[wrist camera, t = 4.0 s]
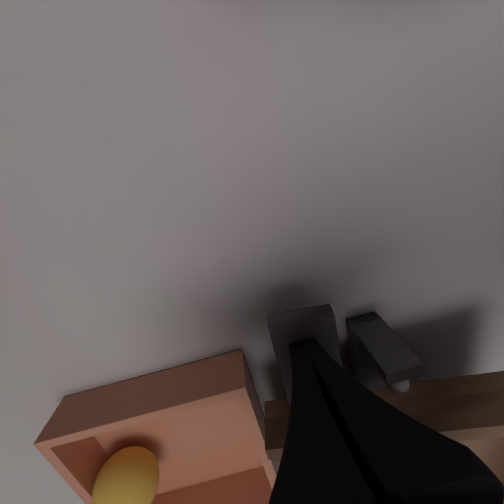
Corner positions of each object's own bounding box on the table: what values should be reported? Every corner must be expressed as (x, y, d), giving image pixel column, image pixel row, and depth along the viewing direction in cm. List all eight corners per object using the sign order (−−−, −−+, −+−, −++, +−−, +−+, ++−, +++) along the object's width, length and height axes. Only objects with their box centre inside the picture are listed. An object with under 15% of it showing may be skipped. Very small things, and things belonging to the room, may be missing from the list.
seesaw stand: (374, 311, 17) (424, 363, 13) (384, 432, 22) (422, 500, 18) (345, 318, 17) (385, 373, 13) (361, 439, 22) (394, 507, 18)
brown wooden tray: (593, 250, 11) (703, 287, 9) (534, 462, 17) (588, 527, 14) (239, 313, 13) (232, 359, 11) (292, 483, 19) (297, 543, 16)
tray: (241, 349, 17) (245, 387, 15) (278, 459, 22) (286, 504, 19) (64, 396, 17) (33, 444, 14) (137, 497, 22) (124, 548, 19)
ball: (137, 421, 19) (154, 465, 16) (157, 454, 21) (176, 500, 17) (77, 465, 17) (83, 526, 14) (104, 499, 19) (115, 560, 15)
